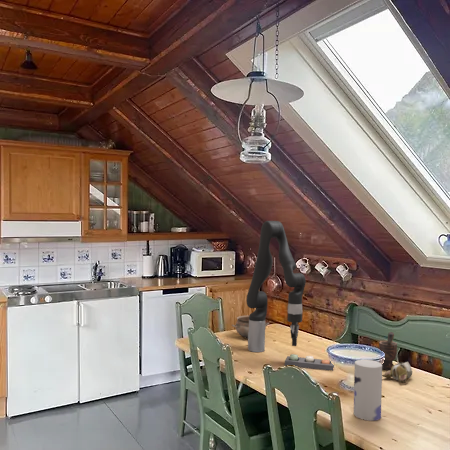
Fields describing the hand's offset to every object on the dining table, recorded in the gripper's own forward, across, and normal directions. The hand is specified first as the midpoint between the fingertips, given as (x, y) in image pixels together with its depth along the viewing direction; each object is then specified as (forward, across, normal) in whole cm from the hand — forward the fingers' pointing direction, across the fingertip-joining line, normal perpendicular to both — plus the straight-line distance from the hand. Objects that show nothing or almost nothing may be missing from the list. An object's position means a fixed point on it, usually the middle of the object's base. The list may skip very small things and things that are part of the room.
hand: (294, 345), depth 243 cm
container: (+10, +56, +36) cm, 67 cm away
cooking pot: (+9, -46, -34) cm, 58 cm away
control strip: (+10, 0, +8) cm, 12 cm away
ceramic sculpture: (+10, +7, +51) cm, 52 cm away
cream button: (+8, 0, +8) cm, 11 cm away
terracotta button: (+9, 0, +16) cm, 18 cm away
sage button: (+8, 0, 0) cm, 8 cm away
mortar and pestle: (+10, -8, +47) cm, 48 cm away
